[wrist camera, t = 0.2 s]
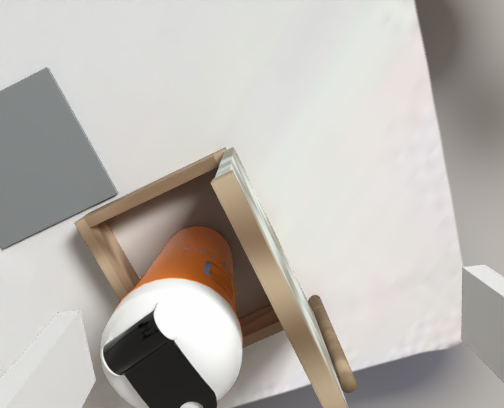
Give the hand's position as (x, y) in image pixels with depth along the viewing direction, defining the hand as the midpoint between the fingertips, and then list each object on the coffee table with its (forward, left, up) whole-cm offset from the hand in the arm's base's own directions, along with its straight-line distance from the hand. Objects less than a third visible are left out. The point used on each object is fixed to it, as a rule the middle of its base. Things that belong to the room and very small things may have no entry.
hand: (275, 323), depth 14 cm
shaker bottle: (+5, -8, -28) cm, 29 cm away
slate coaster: (-11, -19, -28) cm, 35 cm away
